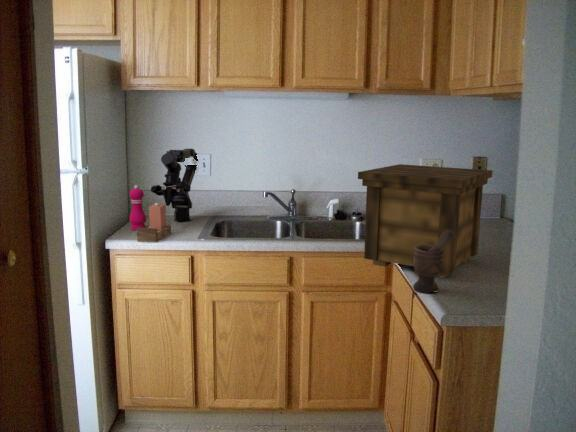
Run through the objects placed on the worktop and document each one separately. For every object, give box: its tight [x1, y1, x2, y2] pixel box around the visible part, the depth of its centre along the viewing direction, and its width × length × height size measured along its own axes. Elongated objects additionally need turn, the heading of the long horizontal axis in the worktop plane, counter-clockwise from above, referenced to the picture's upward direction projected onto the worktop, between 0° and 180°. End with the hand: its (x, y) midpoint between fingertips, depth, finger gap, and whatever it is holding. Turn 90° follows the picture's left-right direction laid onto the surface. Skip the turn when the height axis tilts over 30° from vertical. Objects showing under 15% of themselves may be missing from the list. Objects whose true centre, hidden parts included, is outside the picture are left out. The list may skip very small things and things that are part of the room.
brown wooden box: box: [136, 224, 172, 243], centre depth 220 cm, size 17×8×6 cm, turn 172°
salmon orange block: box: [148, 202, 167, 230], centre depth 223 cm, size 6×5×11 cm
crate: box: [357, 164, 493, 278], centre depth 183 cm, size 35×35×33 cm
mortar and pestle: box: [412, 229, 454, 294], centre depth 154 cm, size 12×9×20 cm
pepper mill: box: [129, 184, 147, 231], centre depth 233 cm, size 7×7×20 cm
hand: (167, 205), depth 234 cm, fingers closed
